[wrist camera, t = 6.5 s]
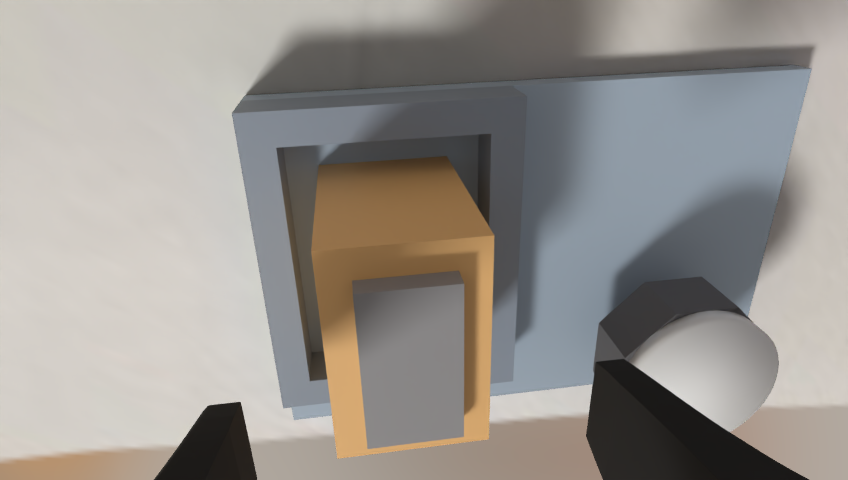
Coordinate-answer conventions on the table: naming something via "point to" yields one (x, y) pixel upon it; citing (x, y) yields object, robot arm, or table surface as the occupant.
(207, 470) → the robot arm
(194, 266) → the table surface
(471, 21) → the table surface
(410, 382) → the tan oblong block
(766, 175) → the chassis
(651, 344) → the wheel
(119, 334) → the table surface
